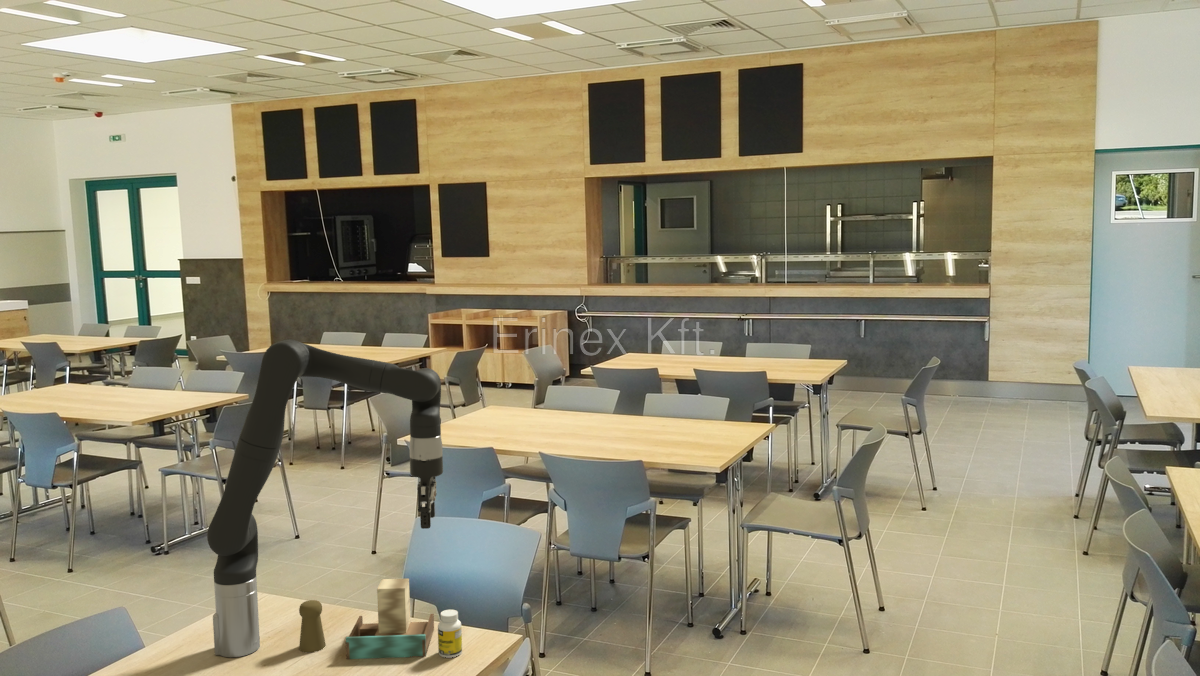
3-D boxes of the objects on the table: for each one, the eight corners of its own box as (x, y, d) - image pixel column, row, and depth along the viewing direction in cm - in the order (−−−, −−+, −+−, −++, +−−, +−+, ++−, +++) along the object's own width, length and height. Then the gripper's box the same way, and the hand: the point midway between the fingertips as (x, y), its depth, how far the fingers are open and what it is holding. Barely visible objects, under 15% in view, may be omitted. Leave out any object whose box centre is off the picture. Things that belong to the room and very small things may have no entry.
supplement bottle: (433, 655, 216) (432, 614, 215) (448, 646, 220) (446, 606, 219) (452, 660, 213) (451, 618, 212) (466, 651, 218) (465, 610, 217)
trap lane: (346, 659, 214) (345, 638, 214) (360, 631, 230) (359, 612, 229) (425, 656, 215) (425, 635, 215) (434, 629, 230) (433, 609, 230)
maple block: (378, 633, 223) (377, 589, 222) (383, 622, 230) (382, 579, 229) (406, 632, 224) (404, 588, 223) (410, 621, 230) (408, 578, 229)
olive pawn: (313, 639, 225) (311, 595, 224) (331, 645, 222) (329, 600, 221) (293, 649, 220) (291, 603, 219) (311, 654, 217) (309, 608, 216)
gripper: (414, 448, 225) (415, 514, 227) (405, 462, 211) (407, 532, 212) (445, 447, 225) (447, 513, 227) (439, 461, 211) (440, 531, 213)
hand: (427, 522), depth 220 cm, fingers open, 8 cm apart
